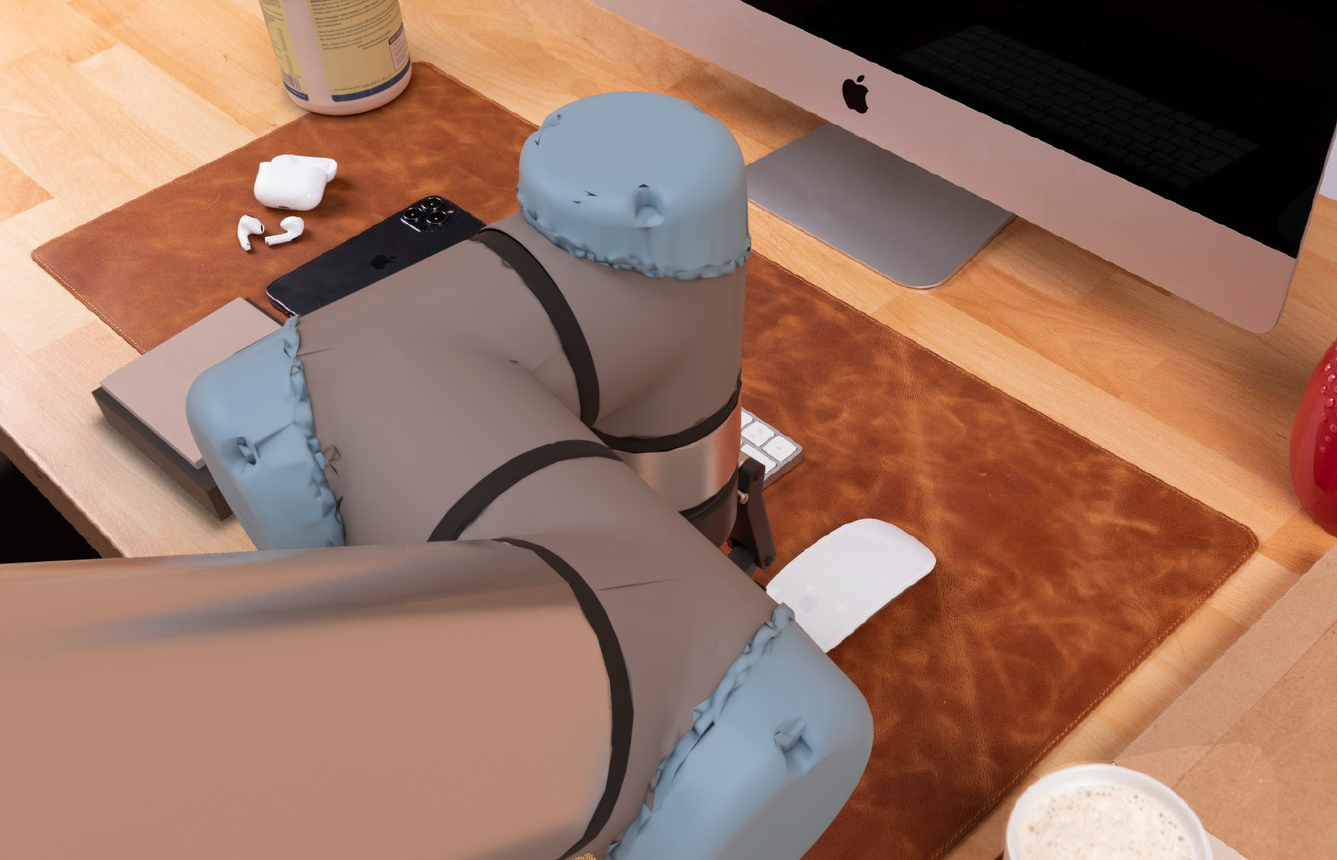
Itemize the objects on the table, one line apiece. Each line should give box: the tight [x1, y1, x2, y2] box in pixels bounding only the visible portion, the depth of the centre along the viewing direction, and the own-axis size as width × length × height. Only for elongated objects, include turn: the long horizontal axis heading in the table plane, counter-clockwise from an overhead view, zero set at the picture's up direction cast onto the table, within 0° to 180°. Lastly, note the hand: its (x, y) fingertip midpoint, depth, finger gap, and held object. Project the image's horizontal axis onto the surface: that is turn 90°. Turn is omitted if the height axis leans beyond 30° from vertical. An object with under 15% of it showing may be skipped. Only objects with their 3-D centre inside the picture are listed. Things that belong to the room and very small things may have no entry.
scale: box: [91, 296, 285, 522], centre depth 81 cm, size 13×14×4 cm
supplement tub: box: [258, 0, 413, 116], centre depth 106 cm, size 12×12×17 cm
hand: (661, 719), depth 65 cm, fingers open, 9 cm apart
